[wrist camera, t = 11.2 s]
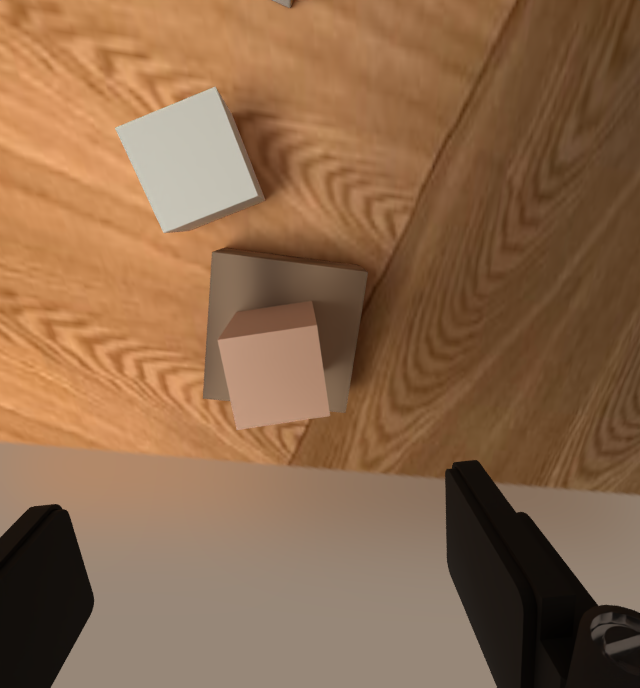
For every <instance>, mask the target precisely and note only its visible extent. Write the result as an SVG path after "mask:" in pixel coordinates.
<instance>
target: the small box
mask: <svg viewBox="0 0 640 688" xmlns="http://www.w3.org/2000/svg"><path fill="white" fill-rule="evenodd" d="M273 1H275V2H277V3H279V4H281V5H284V6H286V7H288V8H290V7H291V6H292V2H293V0H273Z"/></svg>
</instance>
